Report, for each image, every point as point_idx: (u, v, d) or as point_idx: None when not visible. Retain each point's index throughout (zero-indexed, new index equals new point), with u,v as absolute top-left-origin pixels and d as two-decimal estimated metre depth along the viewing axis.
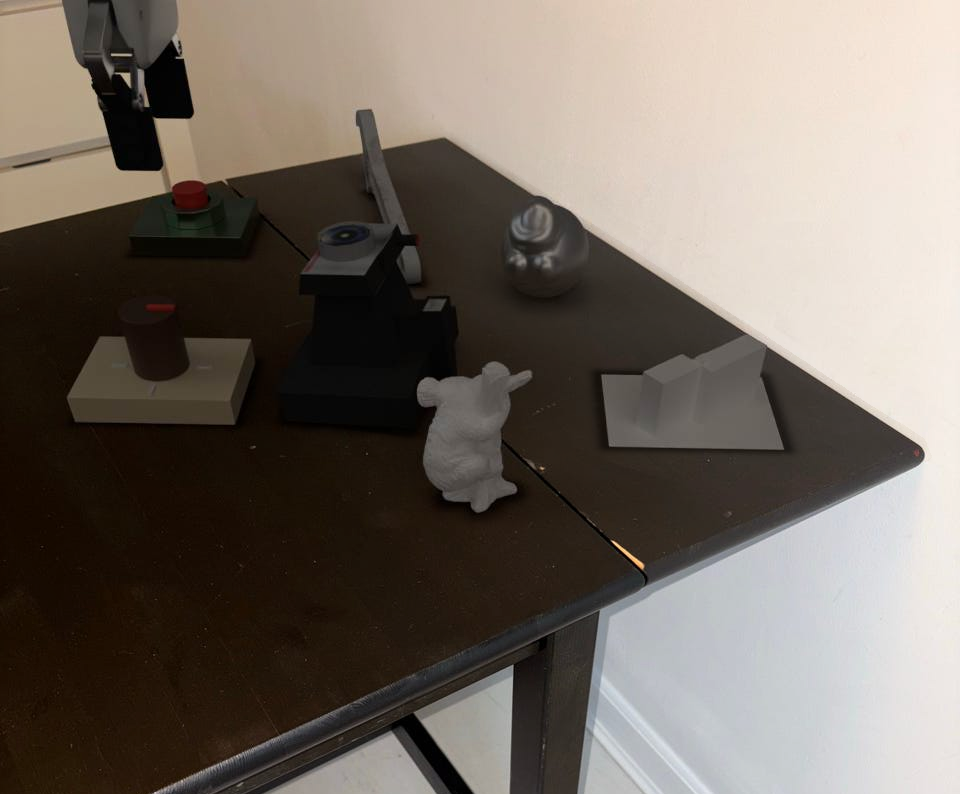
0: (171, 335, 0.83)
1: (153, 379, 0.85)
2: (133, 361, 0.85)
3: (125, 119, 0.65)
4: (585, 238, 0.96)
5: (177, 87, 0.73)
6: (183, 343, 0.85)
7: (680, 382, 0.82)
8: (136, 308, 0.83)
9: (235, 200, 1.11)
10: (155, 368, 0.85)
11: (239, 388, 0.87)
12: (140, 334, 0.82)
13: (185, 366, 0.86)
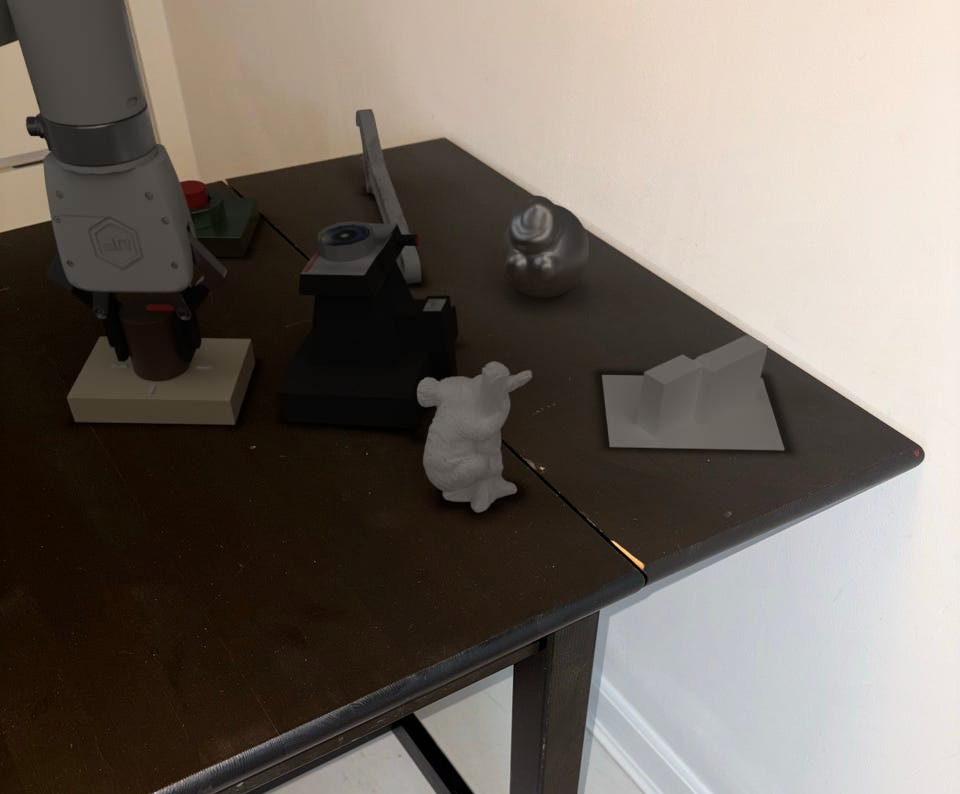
0: (171, 335, 0.83)
1: (153, 379, 0.85)
2: (133, 361, 0.85)
3: (193, 316, 0.84)
4: (585, 238, 0.96)
5: None
6: None
7: (681, 383, 0.82)
8: (136, 308, 0.83)
9: (235, 200, 1.11)
10: (155, 368, 0.85)
11: (239, 388, 0.87)
12: (140, 334, 0.82)
13: (185, 366, 0.86)
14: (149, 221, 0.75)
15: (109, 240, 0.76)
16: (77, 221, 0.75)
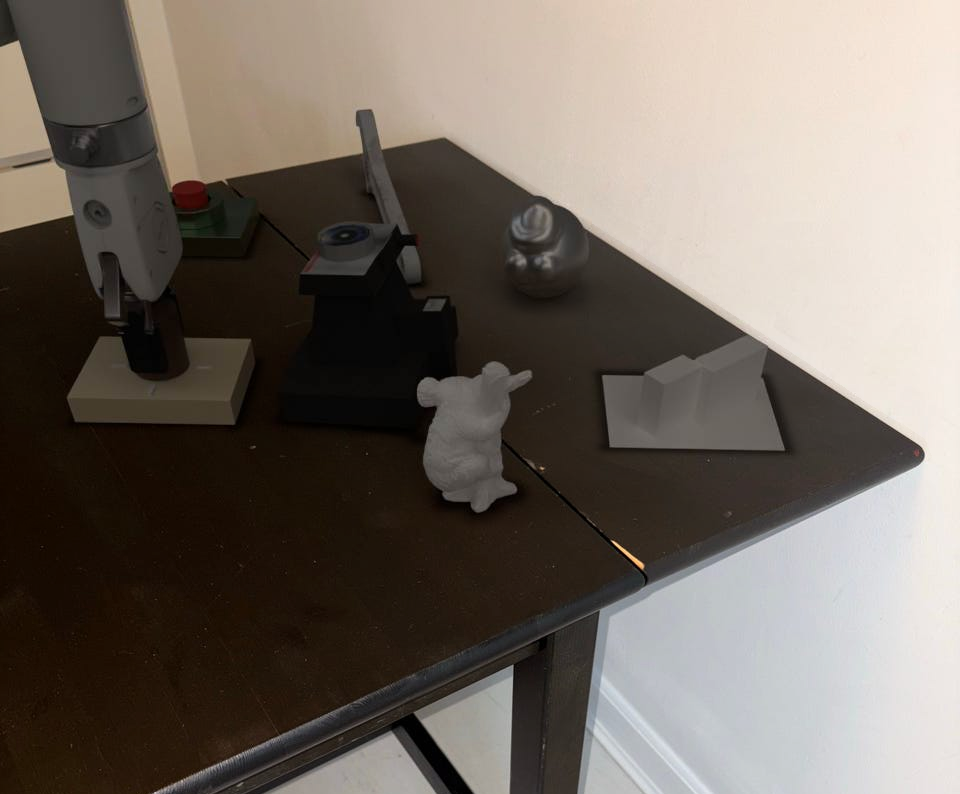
0: None
1: (188, 365, 0.87)
2: (172, 363, 0.85)
3: None
4: (585, 238, 0.96)
5: None
6: None
7: (681, 383, 0.82)
8: None
9: (235, 200, 1.11)
10: (186, 352, 0.86)
11: (239, 388, 0.87)
12: (177, 321, 0.84)
13: None
14: (164, 190, 0.79)
15: (158, 227, 0.77)
16: (146, 221, 0.75)
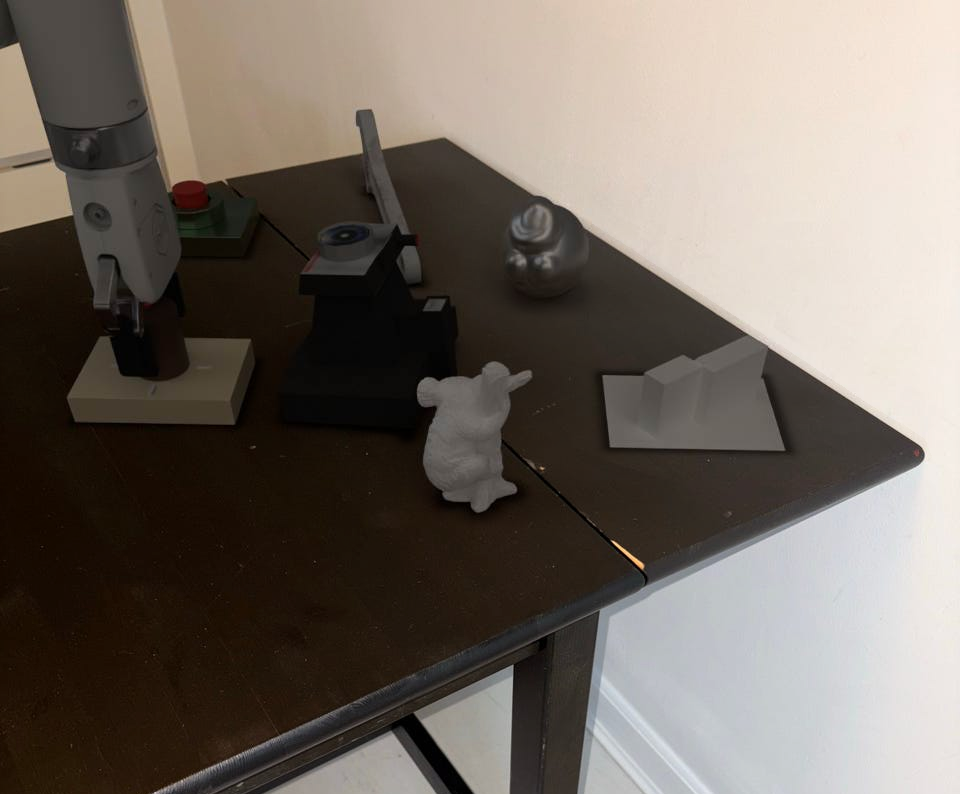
0: None
1: (188, 366, 0.87)
2: (171, 363, 0.85)
3: None
4: (585, 238, 0.96)
5: None
6: None
7: (682, 383, 0.82)
8: None
9: (235, 200, 1.11)
10: (186, 352, 0.86)
11: (239, 388, 0.87)
12: (177, 321, 0.84)
13: None
14: (163, 192, 0.79)
15: (157, 229, 0.78)
16: (146, 224, 0.75)
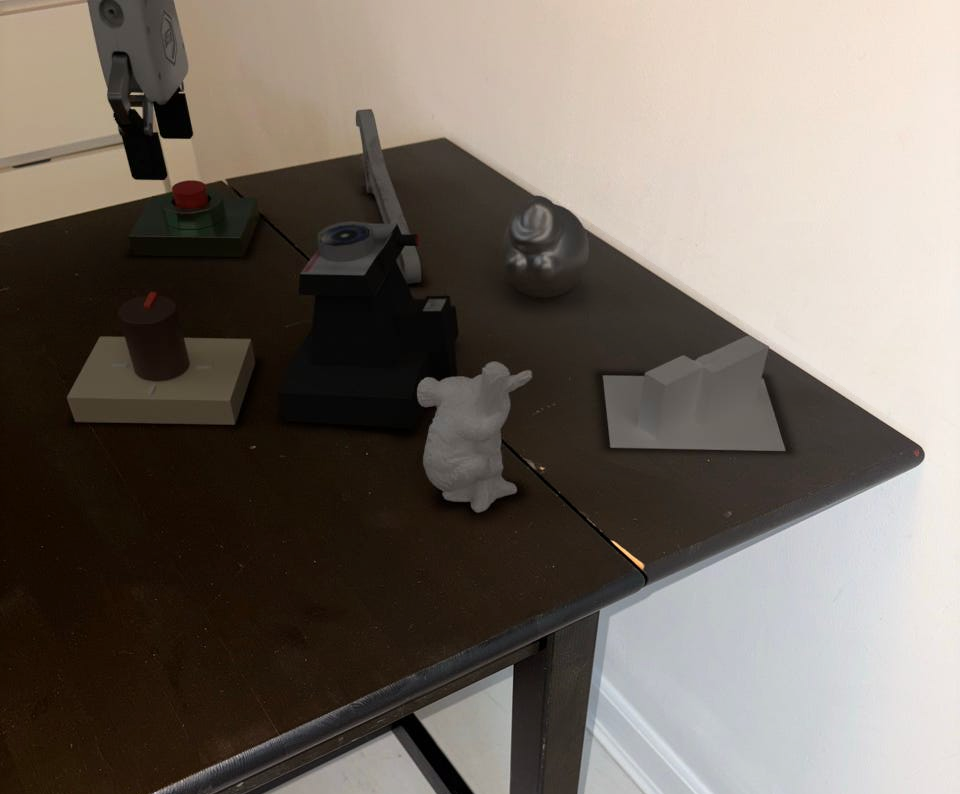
0: None
1: (188, 366, 0.87)
2: (171, 363, 0.85)
3: None
4: (585, 238, 0.96)
5: None
6: None
7: (682, 384, 0.82)
8: (143, 314, 0.82)
9: (235, 200, 1.11)
10: (186, 352, 0.86)
11: (239, 388, 0.87)
12: (177, 321, 0.84)
13: None
14: (171, 5, 0.87)
15: (165, 36, 0.86)
16: (155, 25, 0.83)
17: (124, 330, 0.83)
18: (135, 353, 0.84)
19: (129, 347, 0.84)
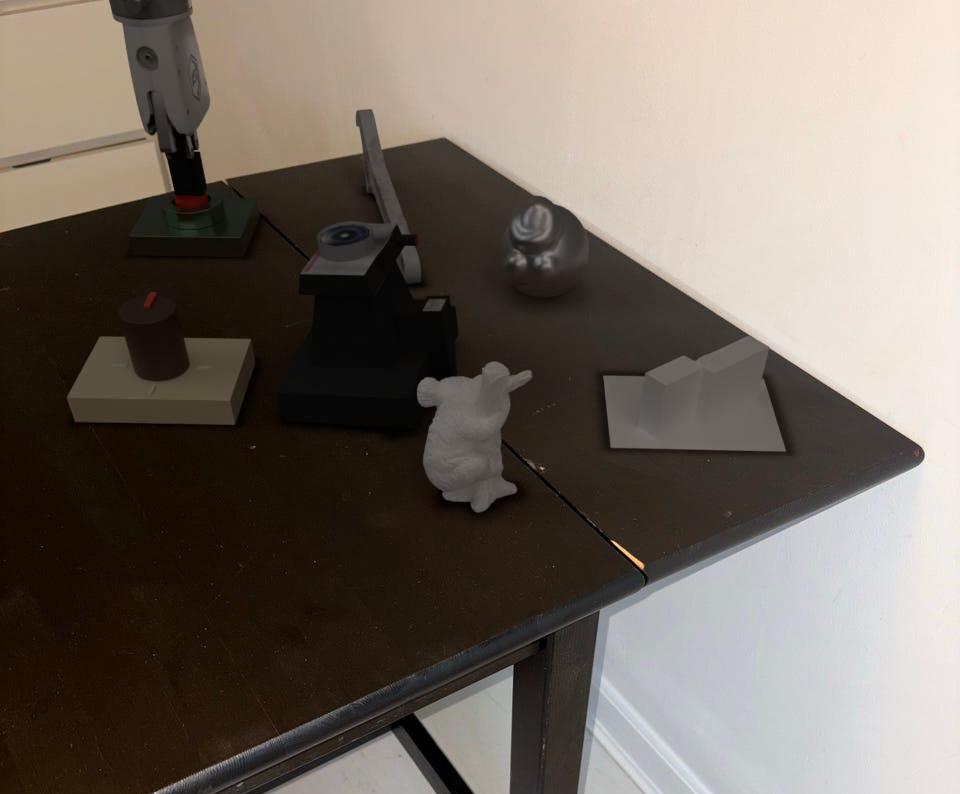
0: None
1: (188, 366, 0.87)
2: (171, 363, 0.85)
3: None
4: (585, 238, 0.96)
5: None
6: None
7: (682, 384, 0.82)
8: (143, 314, 0.82)
9: (235, 200, 1.11)
10: (186, 352, 0.86)
11: (239, 388, 0.87)
12: (177, 321, 0.84)
13: None
14: (196, 48, 0.99)
15: (192, 76, 0.98)
16: (184, 68, 0.95)
17: (124, 330, 0.83)
18: (135, 353, 0.84)
19: (129, 347, 0.84)
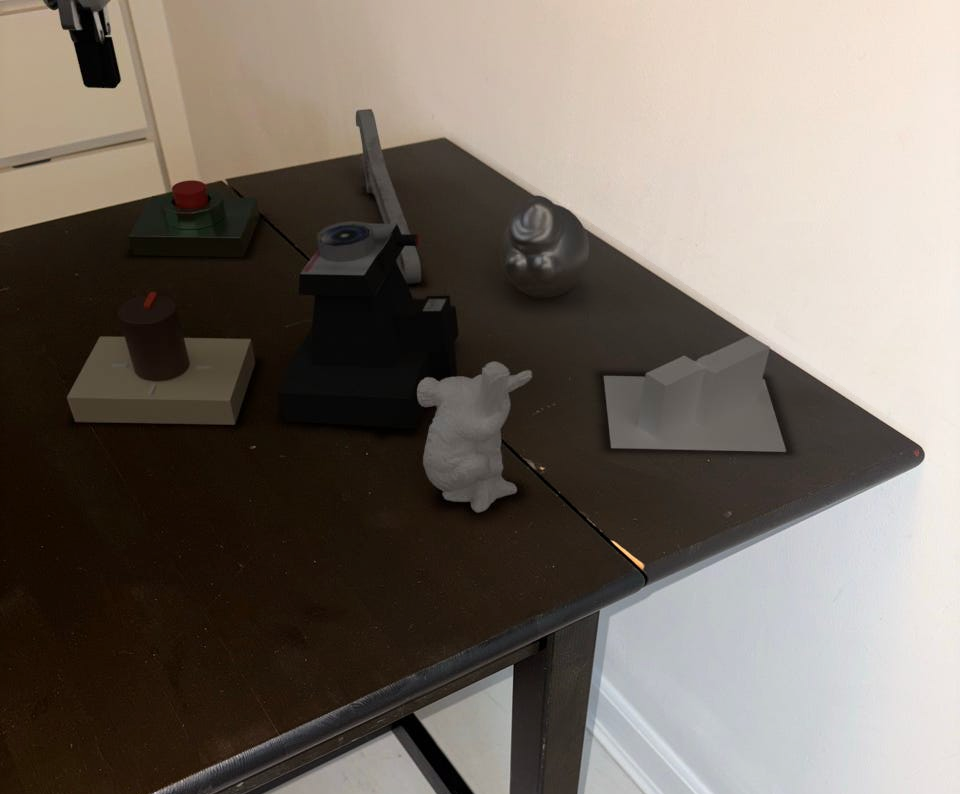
0: None
1: (188, 366, 0.87)
2: (171, 363, 0.85)
3: None
4: (585, 238, 0.96)
5: None
6: None
7: (683, 384, 0.82)
8: (143, 314, 0.82)
9: (235, 200, 1.11)
10: (186, 352, 0.86)
11: (239, 388, 0.87)
12: (177, 321, 0.84)
13: None
14: None
15: None
16: None
17: (124, 330, 0.83)
18: (135, 353, 0.84)
19: (129, 347, 0.84)
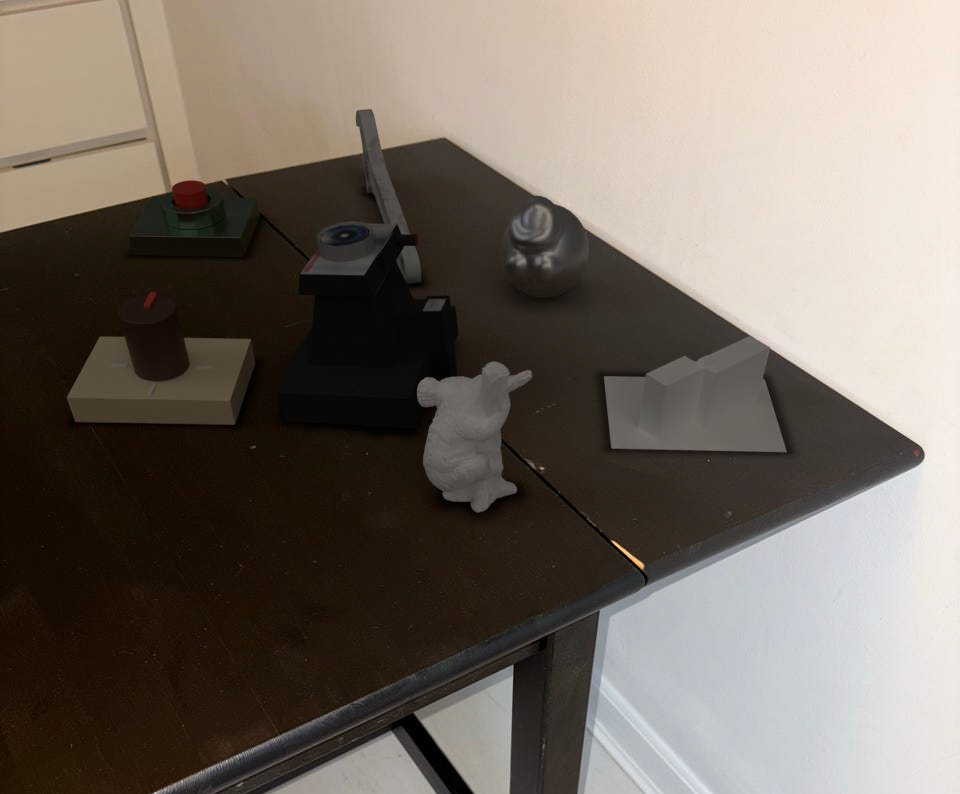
0: None
1: (188, 366, 0.87)
2: (171, 363, 0.85)
3: None
4: (585, 238, 0.96)
5: None
6: None
7: (683, 385, 0.82)
8: (143, 314, 0.82)
9: (235, 200, 1.11)
10: (186, 352, 0.86)
11: (239, 388, 0.87)
12: (177, 321, 0.84)
13: None
14: None
15: None
16: None
17: (124, 330, 0.83)
18: (135, 353, 0.84)
19: (129, 347, 0.84)
